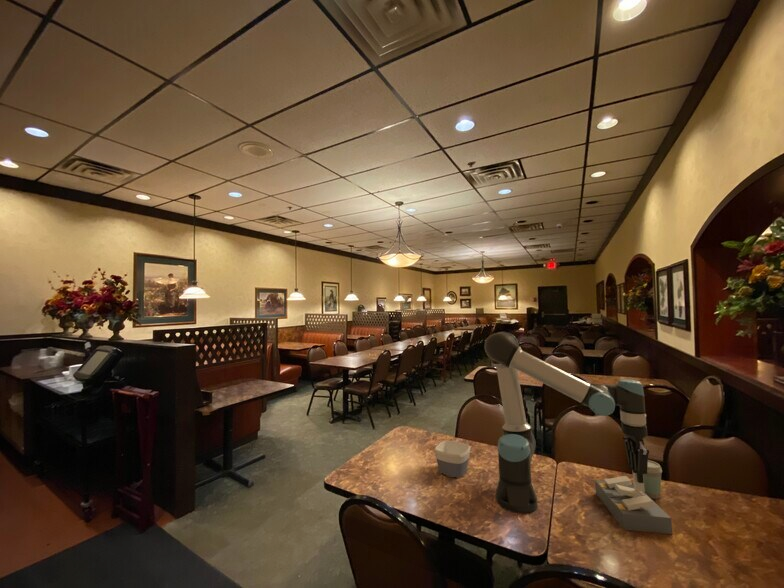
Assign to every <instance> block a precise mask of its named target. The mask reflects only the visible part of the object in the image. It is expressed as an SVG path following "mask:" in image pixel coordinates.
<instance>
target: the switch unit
mask: <svg viewBox="0 0 784 588" xmlns="http://www.w3.org/2000/svg"><path fill="white" fill-rule="evenodd" d="M594 484H595V494H596V495H597V497H598V499H600V501H602V503H603V504H604V506H605V507H606V508H607V509H608V511H609V512H610V514H611V515H612V516H613V518H615V520H616V522H617V523H618V524H619V525H620V526H621V527H622V529H623V530H626V531H639V532H644V533H645V532H647V533H656V534H657V533H659V534H668V535H673V525H672V518H671V515H669V514H668V513H667V512H666V511H664V509H663V508H661V507H660V506H659V504H657V503H656V502H655V501H654V499H653V498H650V497H649V496H648V495H647V494H646V493H644V492H642V491H641V492H642V493H643V494H644V495H647V496H648V497H649V498H650V499H651V500H652V501H653V504H654V506H651V507H646V508H643V510H640V509H635V510H628V509H627V508H626V507H625V506H624V504H623V502H622V500H624V499H629V498H631V497H630V496H627V495H623V494H619V492H618V491H617V490H616V489H615V488H609V487H608V486H607V485H606V483H605V480H594ZM625 487H629V488H633V489H634V484H633V482H632V485H627V486H625ZM634 498H635V497H634Z"/></svg>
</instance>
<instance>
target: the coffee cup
mask: <svg viewBox="0 0 784 588" xmlns="http://www.w3.org/2000/svg"><path fill="white" fill-rule="evenodd" d="M662 469H663V468H662V466H661V465H660V464H659V463H657V462H656V461H653V460H649V459H648V466H647V474H643V477H644V489H645V492H644V493H646V494H647V495H648V496H649V497H650V498H651V499H652V500H657V499H658V500H659V499H660V498H661V486H662V485H661V484H662V473H663V470H662Z"/></svg>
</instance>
